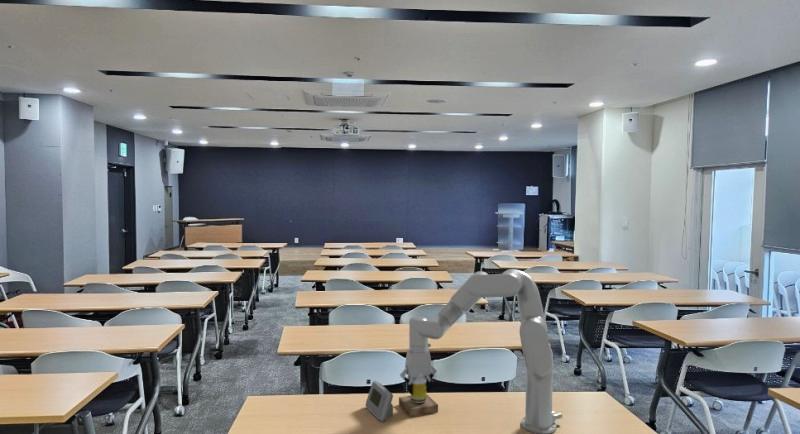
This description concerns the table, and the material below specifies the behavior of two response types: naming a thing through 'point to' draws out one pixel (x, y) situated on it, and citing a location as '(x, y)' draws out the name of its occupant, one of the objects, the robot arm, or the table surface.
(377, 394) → the digital clock
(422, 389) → the pill bottle
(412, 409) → the walnut block
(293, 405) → the table surface
